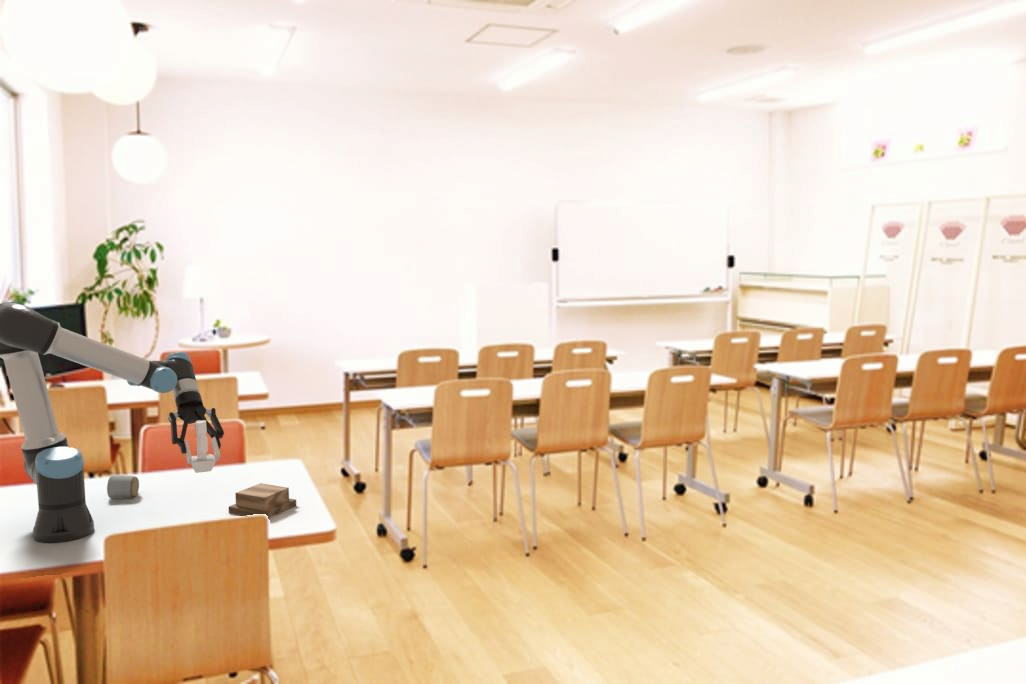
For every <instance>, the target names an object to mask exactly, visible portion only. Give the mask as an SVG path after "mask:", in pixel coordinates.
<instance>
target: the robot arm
mask: <svg viewBox="0 0 1026 684" xmlns="http://www.w3.org/2000/svg"><path fill="white" fill-rule="evenodd" d="M39 354H40V355H43V356H45V355H47V354H51V355H54V356H57V357H60V358H63V359H65V360H68V361H71V362H74V363H77V364H80V365H82V366H84V367H88V368H91V369H94V370H96V371H99V372H102V373H105V374H108V375H111V376H114V377H115V378H116V377H117V378H119V379H122V380H124V381H126V382H127V384H128V385H129V386H130V387H131V386H135V387H136V386H137V387H144V388H147V389H150V390H152V391H154V392H156V393H160V394H167V393H170V392H172V393H173V397H174V402H175V406H176V410H177V412H169V413H168V418H167V420H168V421H169V423H170V432H171V444H172V445H178V447H179V448H180V453H181V454H182V455H183V454H185V459H186V463H187V465H191V461H192V457H191V456H192V454H191V449H190V446H189V445H190V444H189V442H188V440H186V439H185V438H186V434H187V429H188V425H192V424H195V422H196V421H197V420H202V421H203V420H205V421H206V427H207V433H206V434H208V435H209V437H210V438H211V441H210V442H211V446H212V450H213V453H214V454H213V455H214V457H215V458H216V461H219V460H220V458H221V452H220V450H221V447H222V443H221V439H223V437H224V435H225V431H224V429H223V426H222V424H221V423H220V420H219V417H218V416H217V414H216V413H217V411H216V408H215V407H212V408H211V409H207V408H206V407H205V406H204V404H203V399H202V395H201V392H200V388H199V385H198V382H197V377H196V374H195V370H194V365H193V363H192V359H191V358H190V355H188V354H187V353H186V352H184V351H175V352H174V353H170V354H168V355H167V356H166V357H165V359H164V360H149V359H146V358H144V357H140V356H138V355H135V354H132V353H130V352H127V351H124V350H122V349H119V348H116V347H114V346H112V345H110V344H109V345H108V344H106V343H103V342H101V341H98V340H95V339H92V338H91V337H87V336H84V335H83V334H80V333H77V332H74V331H71V330H69V329H66V328H63V327H62V326H61V324H60V322H58V321H56V320H53V319H50V318H48V317H47V316H44V315H42V314H41V313H39V312H38V311H36V310H34V309H32V308H31V307H29V306H26V305H25V304H22V303H21V302H18V301H17V302H16V301H5V302H1V303H0V359H3V363H4V366H5V369H6V374H7V377H8V380H9V381H8V382H9V385H10V388H11V392H12V395H13V399H14V403H15V405H16V411H17V414H18V417H19V418H18V419H19V420H20V424H21V428H22V432H23V436H24V438H25V439H24V441H23V443H22V444H21V446H20V448H21V452H22V454H23V458H24V461H23V466H24V470H25V473H26V475H27V476H28V477H29V478H30V479H31V480H32V481H33V482H34V483H35V485H36V489H37V504H38V511H37V514H36V515H37V516H36V518H35V522H34V526H33V528H32V529H33V530H32V536H33V540H35V541H37V542H40V543H60V542H61V543H62V542H69V541H73V540H78V539H80V538H83V537H87V536H88V535H90V534H92V533H93V532H94V530H95V522H94V519H93V517H92V515H91V512H90V510H89V507H88V506H87V504H86V503H87V501H86V487H85V484H86V483H85V472H84V469H85V467H84V465H85V461H84V458H83V457H84V456H83V453H82V452H81V451H80V450H79V449H78V448H76V447H70V446H69V442H68V439H67V434H65V433H62V432H61V431H59V427H58V424H57V420H56V416H55V413H54V409H53V404H52V401H51V398H50V394H49V390H48V386H47V383H46V379H45V375H44V371H43V366H42V364H41V360H40V356H39ZM205 415H207V416H208V418H209V420H210V422H211V423H210V422H209V420H207V417H206V416H205ZM178 418H179V419H180V420H182V421H183V424H182V427H181V431H180V437H178V426H177V425H178V423H177V421H178Z"/></svg>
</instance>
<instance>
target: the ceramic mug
mask: <svg viewBox="0 0 1026 684" xmlns="http://www.w3.org/2000/svg"><path fill="white" fill-rule="evenodd" d="M139 490H140V480H139V478H138V477H137V476H135V475H129V474H126V475H125V474H114V473H113V474H111V475H110V476H109V478H108V480H107V485H106V492H107V493H106V494H107V496H108V497H109V498H110V499H132V498H134V497H136V496H137V495H138V493H139Z"/></svg>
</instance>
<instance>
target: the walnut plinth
mask: <svg viewBox="0 0 1026 684" xmlns="http://www.w3.org/2000/svg"><path fill="white" fill-rule="evenodd" d="M295 507H297V499H295V498H290V488H289V487H288V486H287V487H285V486H280V485H275V484H268V483H261V482H260V483H257V484H255V485H252V486H249V487H247V488H245V489H242V490H240V491H236V492H235V503H234V504H232V505H229V506H228V514H232V515H238V516H242V517H245V516H244V515H253V514H266V515H267V516H268V519H271V518H272V517H274V516H277V515H279V514H281V513H283V512H286V511H288V510H291V509H293V508H295Z"/></svg>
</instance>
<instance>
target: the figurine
mask: <svg viewBox="0 0 1026 684" xmlns="http://www.w3.org/2000/svg"><path fill="white" fill-rule="evenodd" d="M194 430H195V431H194V433H195V438H196V454H197V455H191V457H192V461H191V464H190V465H191V467H192V468H193V471H194V473H195V474H197V473H207V472H209V473H210V472H212V470H213V468H214V466H215V464H216V462H217V460H216V458H215V454H213V453H211V454H210V453H209V454H207V453H208V451H209V440H208V436H207V434H208V433H207V427H206V421H205V420H203V421H202V420H197V421H196V422H195V423H194Z"/></svg>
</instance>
